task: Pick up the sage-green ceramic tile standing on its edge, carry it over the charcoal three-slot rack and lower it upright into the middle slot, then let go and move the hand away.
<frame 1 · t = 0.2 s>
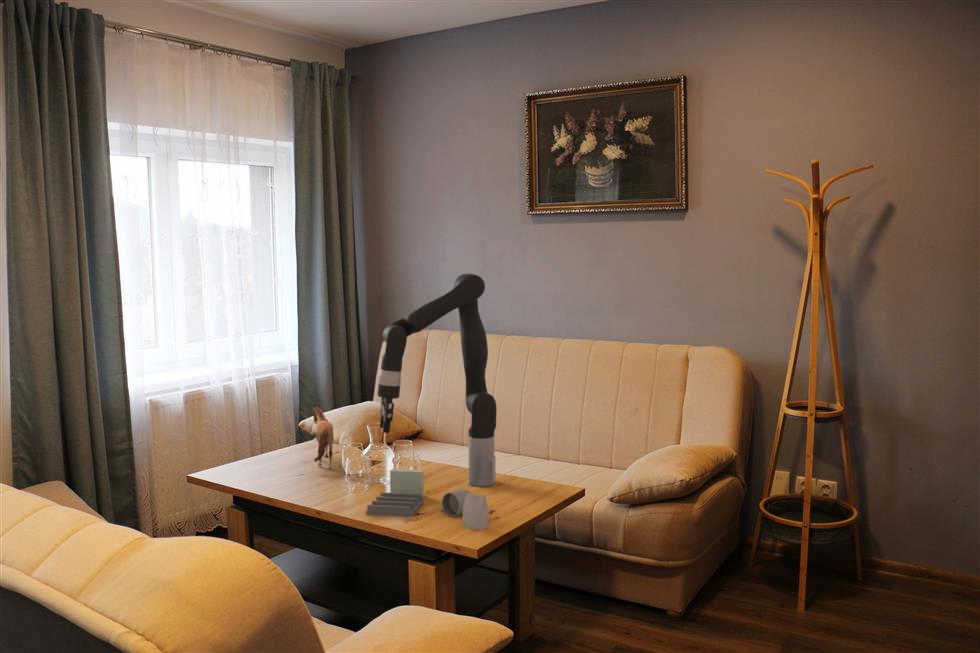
hand: (384, 430, 283), 22 cm above the table, tool pointing down, fingers open, 8 cm apart
horse figurine: (316, 464, 325), on the table
slot rack: (395, 508, 268), on the table
ceramic mug: (454, 513, 263), on the table
green tile: (407, 496, 281), on the table
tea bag: (475, 527, 250), on the table
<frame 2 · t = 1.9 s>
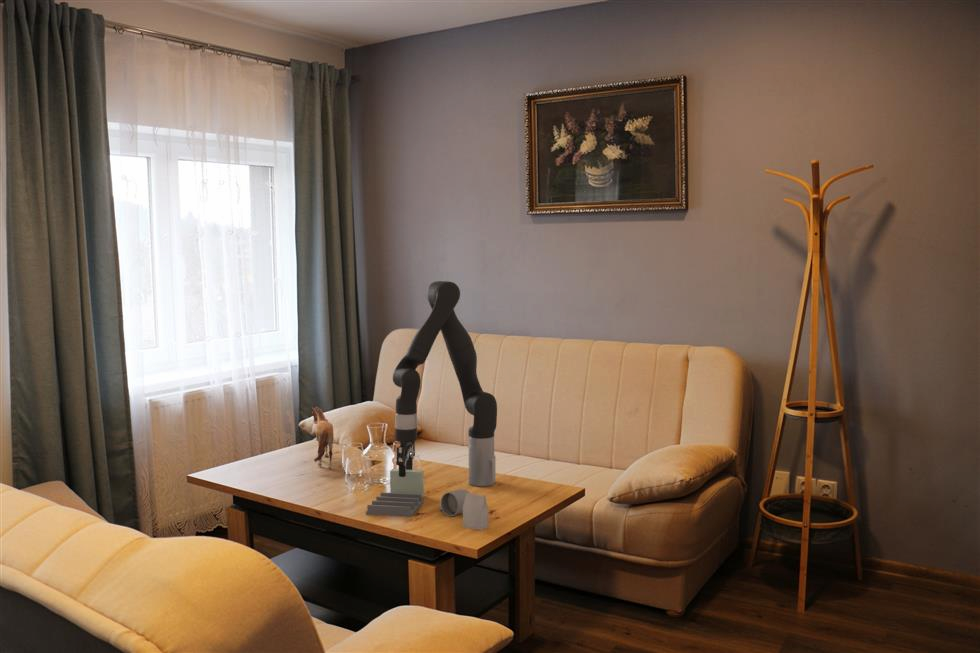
hand: (405, 473, 280), 8 cm above the table, tool pointing down, fingers open, 8 cm apart
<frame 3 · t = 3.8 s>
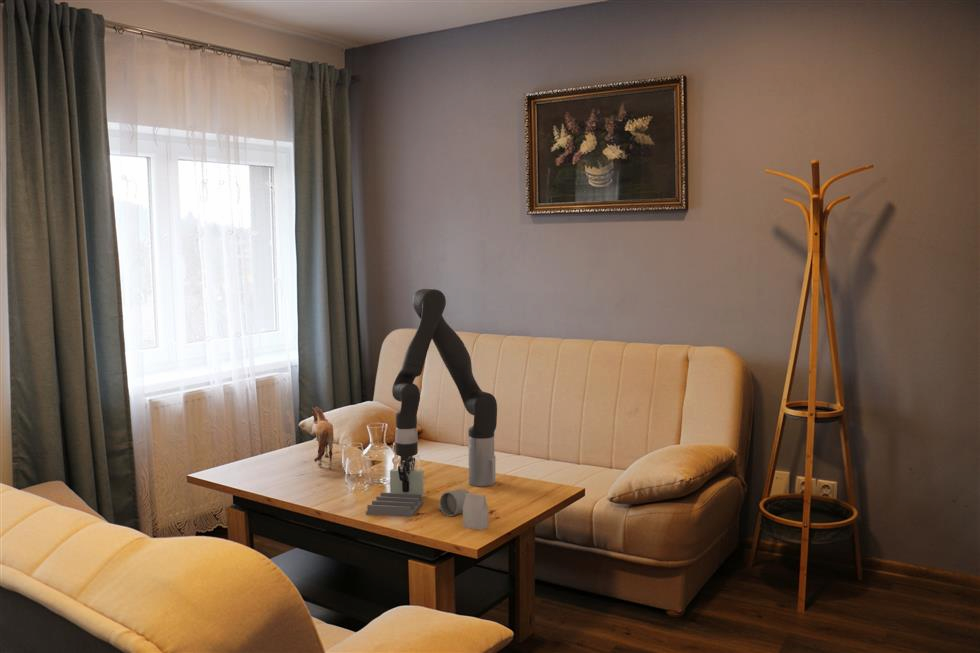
hand: (407, 490, 281), 2 cm above the table, tool pointing down, fingers closed on green tile, 2 cm apart
green tile: (407, 496, 281), on the table, touching gripper
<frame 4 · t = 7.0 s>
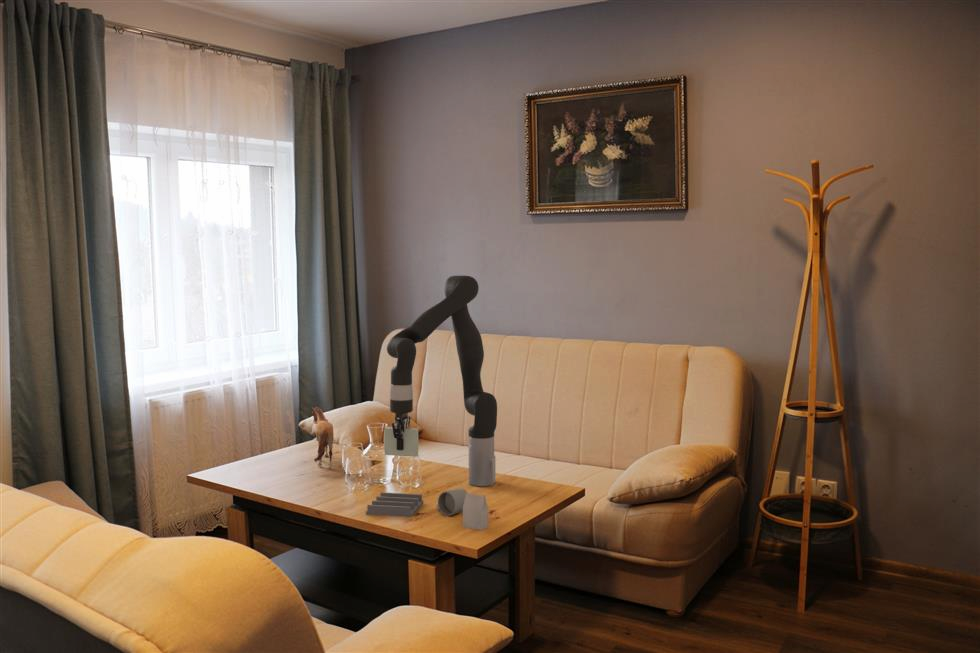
hand: (401, 448, 275), 18 cm above the table, tool pointing down, fingers closed on green tile, 2 cm apart
green tile: (401, 454, 276), point 15 cm above the table, touching gripper
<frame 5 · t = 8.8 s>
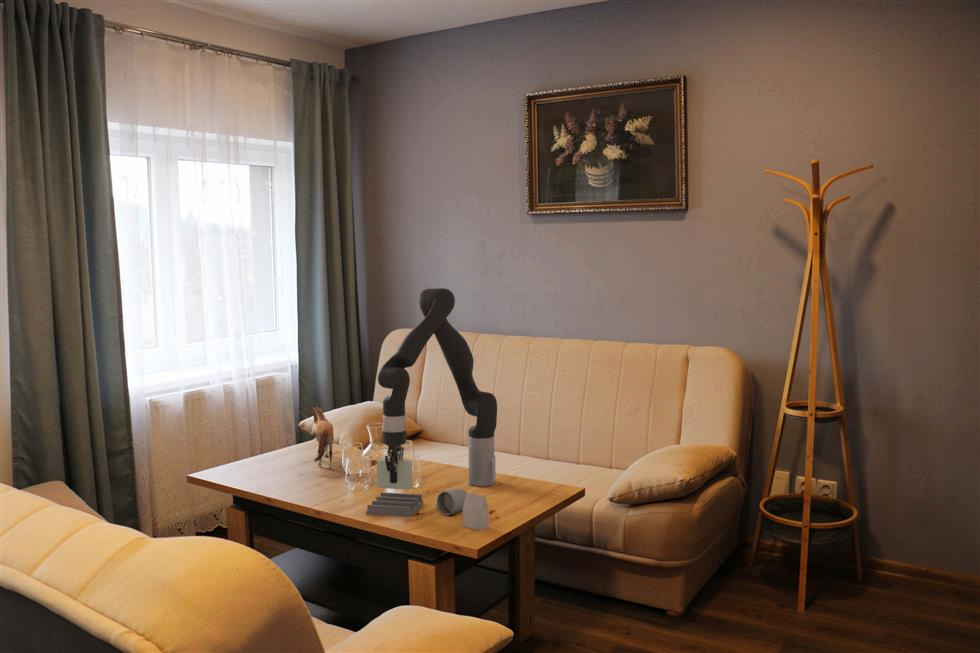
hand: (394, 481, 267), 9 cm above the table, tool pointing down, fingers closed on green tile, 2 cm apart
green tile: (394, 487, 267), point 7 cm above the table, touching gripper
when the fingers open (4 cm above the table, at t = 10.5 s): green tile stays where it is, resting on slot rack.
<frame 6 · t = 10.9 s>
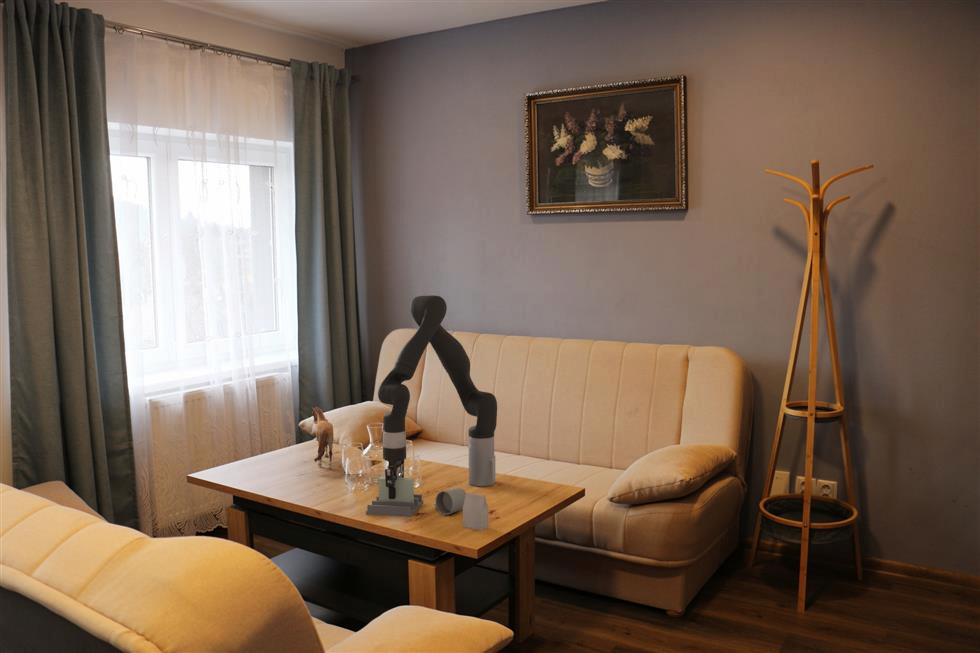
hand: (395, 495, 267), 4 cm above the table, tool pointing down, fingers open, 6 cm apart
green tile: (396, 505, 267), point 1 cm above the table, touching slot rack
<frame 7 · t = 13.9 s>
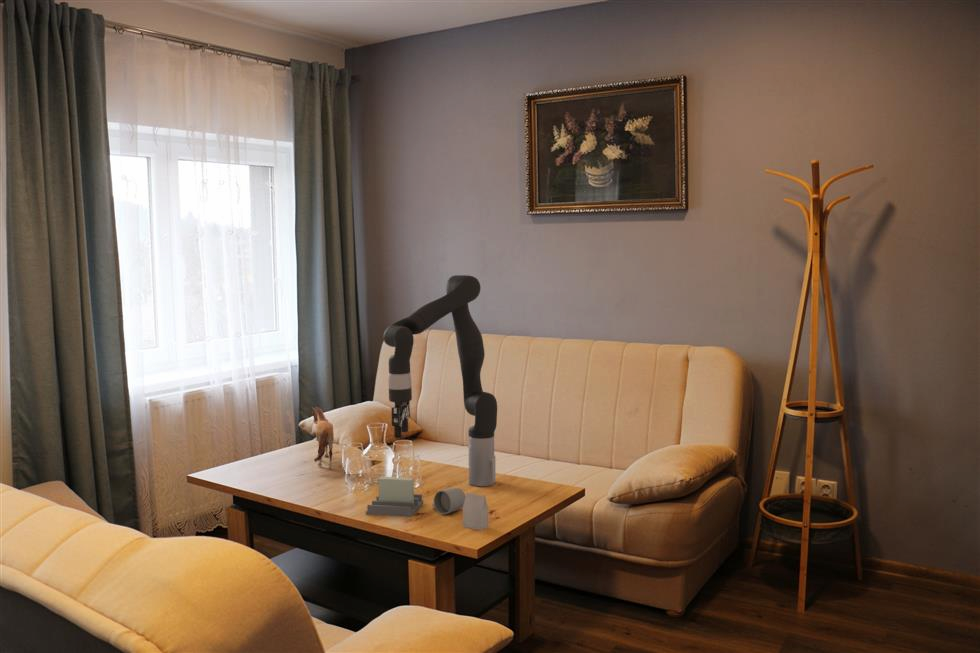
hand: (401, 434, 273), 23 cm above the table, tool pointing down, fingers open, 8 cm apart
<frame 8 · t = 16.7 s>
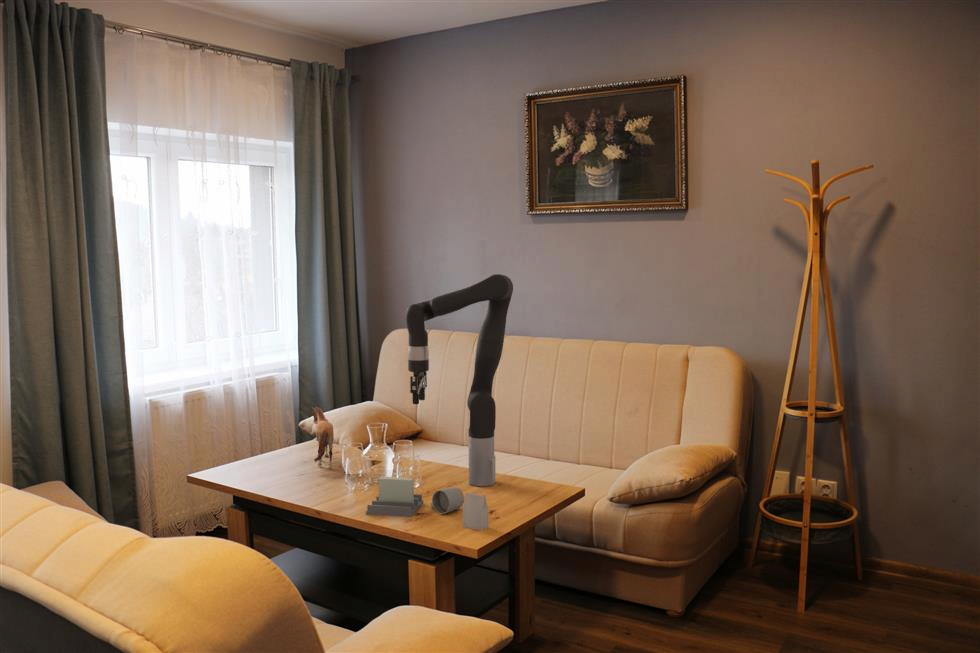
hand: (418, 402, 303), 28 cm above the table, tool pointing down, fingers open, 8 cm apart
at the end: green tile 0.4 cm off-centre on the slot rack, point 1.0 cm above the slot rack's base; green tile tilted 0°; the gripper is holding nothing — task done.
